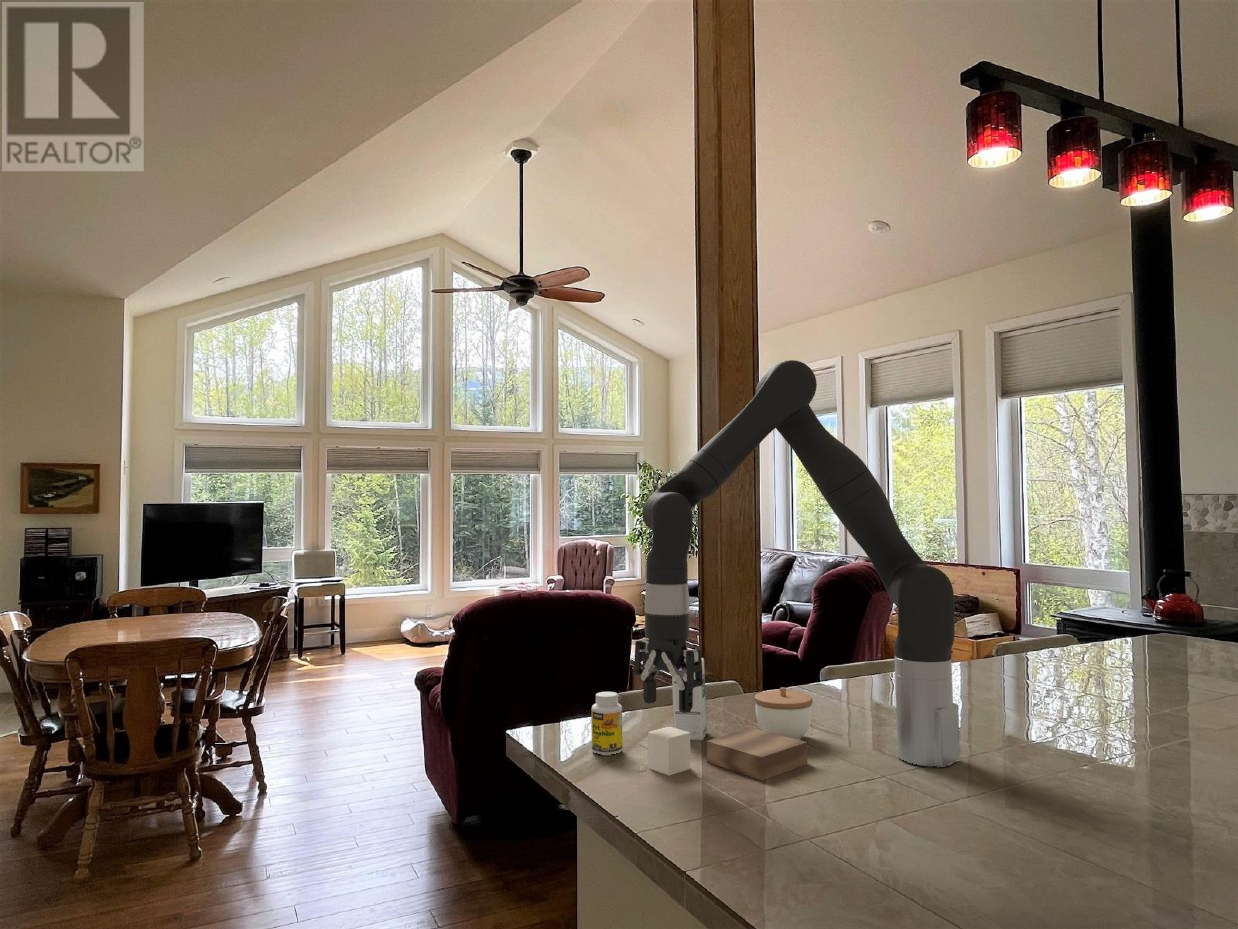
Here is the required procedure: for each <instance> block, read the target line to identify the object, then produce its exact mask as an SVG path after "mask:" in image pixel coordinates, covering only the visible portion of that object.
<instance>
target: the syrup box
mask: <svg viewBox="0 0 1238 929" xmlns="http://www.w3.org/2000/svg"><path fill="white" fill-rule="evenodd" d="M679 670H682V668H680V669H679ZM705 676H706V672H705V658H704V657H702V678H703V684H702V686H698V687H695V688H694V689H693V707H692V709H691V711H690V712H687V713H681V712H679V690H681V689H680V688H679V685H678V683H677V681H676V679H674V678H673V677H672V676H671V678H672V679H671V680H672V682H671V683H672V684H671V686H672V712H673V713H672V714H673V716H672V717H673V723H672V724H673V728H676V729H680V730H683V731H687V732H690V741H704V739H705V737H706V734H707V730H708V729H707V704H706V703H707V702H706V699H707V698H706V683H705V682H706V677H705ZM683 679H684V677H683ZM694 679H695V672H694ZM684 681H685V679H684ZM685 682H686V681H685Z"/></svg>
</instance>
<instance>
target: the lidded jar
mask: <svg viewBox="0 0 1238 929" xmlns="http://www.w3.org/2000/svg"><path fill="white" fill-rule="evenodd" d="M754 702H755V703H754V704H755V716H756V721H757V724H758V726H759V728H760V730H762V731H766V732H770V733H774V734H778V735H781V736H785V737H789V738H793V739H797V740H801V741H802V737H803V736H805V734H806V733H807V732H808V730H809V729H810V726H811V724H812V718H813V716H812V715H813V697H812V696H811V695H810V694H807V693H804V692H799V691H795V690H787V688H786V687H783V686H782V687H780V688H779V690H766V691H761V692H758V693H756V694H755V695H754Z"/></svg>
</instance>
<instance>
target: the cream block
mask: <svg viewBox="0 0 1238 929" xmlns="http://www.w3.org/2000/svg"><path fill="white" fill-rule="evenodd" d="M647 757H648V758H647V761H648V762H647V763H648V764H647V766H648V767H647V768H648V769H649V770H652V771H655V772H657V773H661V774H664V775H666V776H672V775H675V774H678V773H681V772H685V771H688V770H691V769H692V768H691V766H692V765H691V763H692V762H691V761H692V760H691V740H690V732H687V731H683V730H680V729H676V728H674V726H673V727H672V726H665V727H663V728H657V729H654V730H651V731H648V732H647Z"/></svg>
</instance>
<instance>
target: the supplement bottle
mask: <svg viewBox="0 0 1238 929" xmlns="http://www.w3.org/2000/svg"><path fill="white" fill-rule="evenodd" d="M590 712H591V721H590V722H591V723H590V724H591V751H592V753H594V754H595V753H598V754H604V755H603V756H610V755H609V754H615V755H617V754H616V753H618V754H620V753H621V752H622V750H623V706H622V705H621V703H619V697H618V693H617V692H615V691H600V692H597V693H596V694H595V703H594V704H592V706H591V711H590ZM598 754H597V755H598Z"/></svg>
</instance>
